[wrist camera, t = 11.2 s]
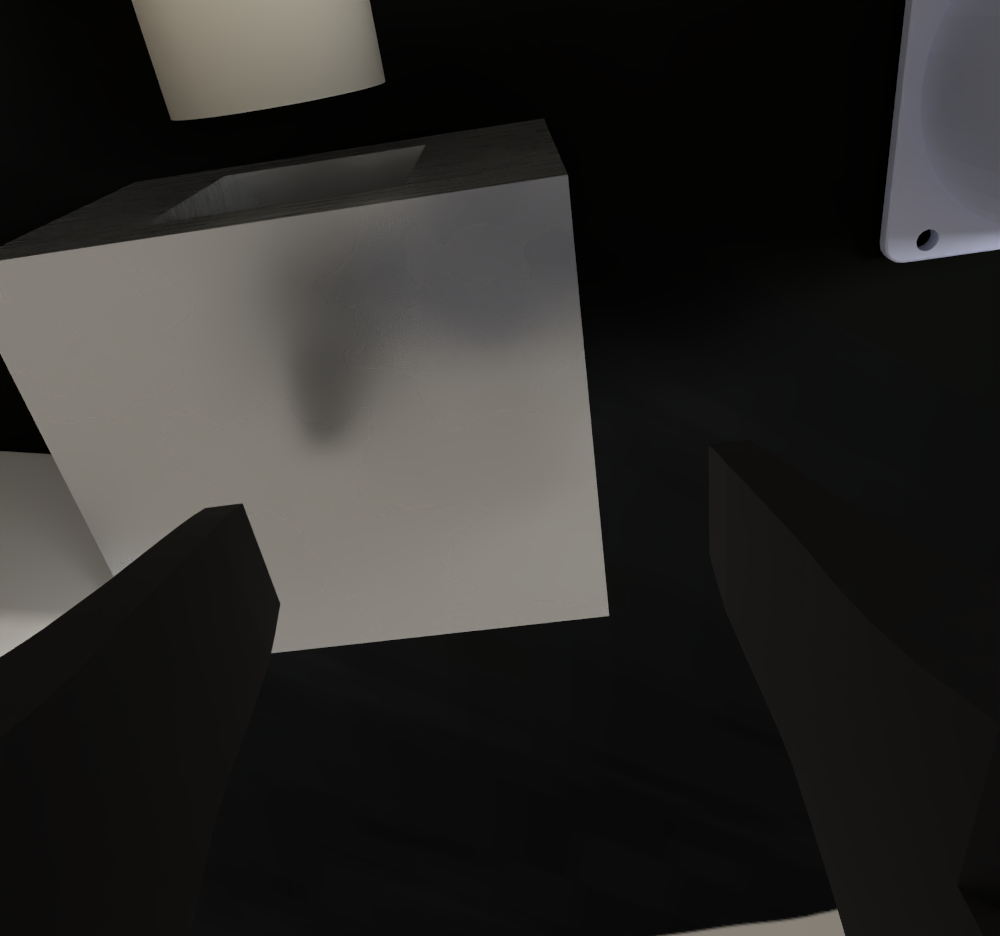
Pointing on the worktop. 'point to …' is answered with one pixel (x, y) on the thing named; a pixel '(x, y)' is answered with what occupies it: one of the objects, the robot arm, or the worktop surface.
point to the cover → (257, 52)
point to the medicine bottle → (41, 548)
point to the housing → (331, 378)
